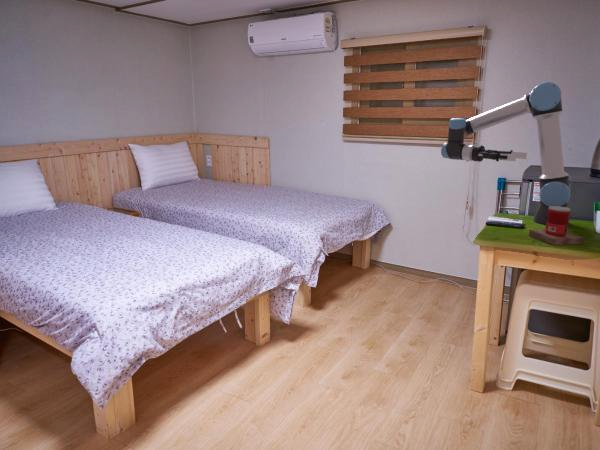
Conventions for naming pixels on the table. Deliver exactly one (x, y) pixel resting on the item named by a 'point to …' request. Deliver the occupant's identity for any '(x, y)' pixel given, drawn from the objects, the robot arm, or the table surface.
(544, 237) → the walnut base
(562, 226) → the canned food
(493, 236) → the table surface
